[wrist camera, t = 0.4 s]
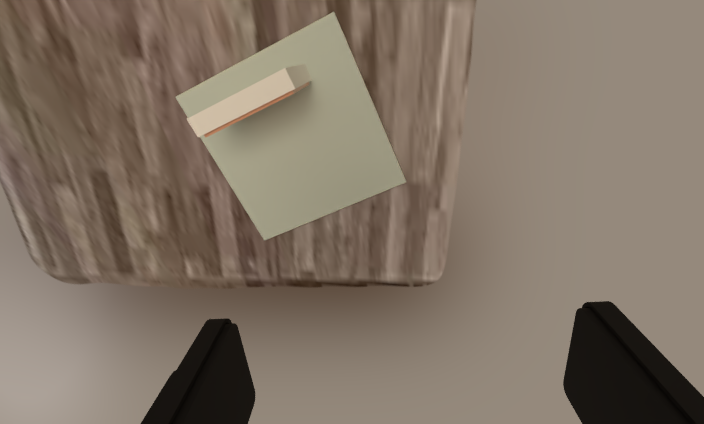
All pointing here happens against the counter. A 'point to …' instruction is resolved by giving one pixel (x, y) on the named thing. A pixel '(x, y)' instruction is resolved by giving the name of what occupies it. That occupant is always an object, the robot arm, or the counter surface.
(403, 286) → the counter surface
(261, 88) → the tile
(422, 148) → the counter surface
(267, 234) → the mat
